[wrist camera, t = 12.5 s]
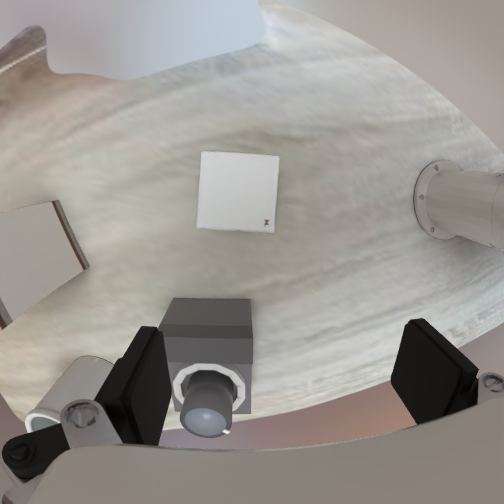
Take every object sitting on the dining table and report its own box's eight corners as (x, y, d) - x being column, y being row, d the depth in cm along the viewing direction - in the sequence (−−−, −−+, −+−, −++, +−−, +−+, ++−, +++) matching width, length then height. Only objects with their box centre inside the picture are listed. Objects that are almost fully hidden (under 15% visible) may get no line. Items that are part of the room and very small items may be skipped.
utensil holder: (59, 380, 46) (19, 437, 29) (81, 336, 43) (30, 398, 26) (119, 422, 48) (93, 486, 32) (150, 386, 46) (123, 461, 29)
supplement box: (270, 161, 38) (283, 155, 25) (265, 217, 39) (275, 236, 27) (213, 157, 37) (200, 149, 25) (209, 213, 39) (194, 230, 27)
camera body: (249, 298, 42) (252, 338, 32) (249, 380, 46) (251, 428, 35) (173, 298, 42) (154, 336, 31) (183, 379, 46) (171, 425, 35)
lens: (202, 361, 36) (194, 396, 29) (243, 382, 36) (242, 419, 29) (181, 389, 37) (171, 424, 30) (219, 408, 38) (216, 444, 31)
